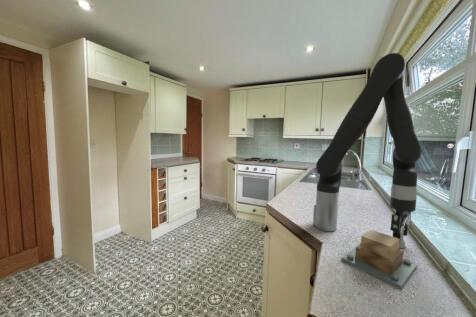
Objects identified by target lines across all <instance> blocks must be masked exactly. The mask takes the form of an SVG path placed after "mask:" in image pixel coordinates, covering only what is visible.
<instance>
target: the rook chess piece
mask: <svg viewBox="0 0 476 317" xmlns="http://www.w3.org/2000/svg"><path fill="white" fill-rule="evenodd" d="M397 227H398V226H396V227H395V228H397ZM403 230H405V228H402V231H401V239H400V242H399V249H404V248H405V247H406V241H405V239H404V235H403V233H404V232H403Z"/></svg>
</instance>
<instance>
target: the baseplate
mask: <svg viewBox="0 0 476 317" xmlns="http://www.w3.org/2000/svg"><path fill="white" fill-rule="evenodd" d="M355 253H356V247H355V248H353V249H352V250H350V251H348V252H347V253H346V254H344V255H343V256H341V258H340V259H341V261H342V262H344V263H346V264H348V265H350V266H352V267H354V268H356V269H359V270H360V271H363V272H365V273H366V274H368V275H370V276H373V277H375V278H377V279H378V280H381V281H382V282H385V283H387V284H389V285H391V286H393V287H395V288H397V289H399V290H402V289H403V287H404V285H405V284H406V283H407V282H408V281H409V279H410V278H411V277H412V275H413V273H414V272H415V271H416V269H417V268H418V264H417V263H414V262H412V261H410V260H408V259H403V261H402V264H401V265H400V266H399V268H398V269H397V270H396V271H395V272H394V273H393V274H391V275H390V274H387V273H385V272H383V271H381V270H379V269H376V268H374V267H372V266H370V265H368V264H365V263H363V262H361V261H359V260H357V259H355Z"/></svg>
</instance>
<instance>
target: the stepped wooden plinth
mask: <svg viewBox="0 0 476 317" xmlns="http://www.w3.org/2000/svg"><path fill="white" fill-rule="evenodd" d="M360 237H361V239H360V244H358V245H357V246H355V248H356V253H355V259H357V260H359V261H361V262H363V263H365V264H368V265H370V266H372V267H374V268H376V269H379V270H381V271H383V272H385V273H387V274H390V275H391V274H393V273H394V272H395V271H396V270H397V269H398V268H399V266H400V265H401V264H402V261H403V258H404V251H403V250H401V249H400V248H399V241H400V239H398V238H395V237H393V235H388V234H386V233H384V232H383V233H382V232H380V231H377V230H374V229H370V230H368V231H367V232H366V233H363V234H362V235H361V236H360Z"/></svg>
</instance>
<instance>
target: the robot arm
mask: <svg viewBox="0 0 476 317" xmlns="http://www.w3.org/2000/svg"><path fill="white" fill-rule="evenodd" d="M406 65H407V64H406V60H405V57H404V56H403V55H402V54H400V53H397V52H391V53H388V54H385V55H384V56H382V57H381V58H380V59H378V60H377V61H376V64H375V65H374V67H373V69H372V71H371V73H370V75H369V77H368V79H367V82H366V83H365V86H364V88H363V89H362V91H361V92H360V94H359V95H358V96H357V98H356V99H355V101H354V102H353V104H352V105H351V107H350V109H349V110H348V111H347V113H346V114H345V116H344V118H343V119H342V121H341V123H340V125H339V126H338V128H337V131H336V132H335V134H334V136H333V138H332V140H331V142H330V144H329V145H328V147H326V149H325V151H324V152H323V153H322V154H321V155H320V157H319V158H318V160H317V162H316V163H315V169H316V172H317V173H318V175H319V178H318V181H317V183H316V198H315V204H314V206H313V219H312V225H313V226H314V225H315V226H316V227H315V226H314V227H315V228H316V229H318V228H319V230H320V229H321V231H324V232H335V231H336V230H337V229H338V228H337V227H338V215H339V213H338V212H339V197H340V196H339V193H340V187H341V182H342V180H341V179H342V171H343V170H342V169H343V166H342V165H343V164H342V162H343V159H344V157H345V155H346V154H347V153H348V151H349V150H350V149H351V148H352V147H353V146H354V145H355V144H356V143H357V141H358V140H360V138H361V137H362V135H364V133H365V132H366V130H367V129H368V127H369V125H370V124H371V123H372V121H373V119H374V117H375V115H376V113H377V111H378V109H379V107H380V104H381V103H382V100H384V106H385V113H386V114H385V115H386V119H387V121H386V122H387V127H388V130H389V134H390V136H391V138H392V139H393V144H394V149H393V152H392V167H393V170H392V171H393V172H392V181H391V188H390V197H389V198H390V199H389V207H390V208H392V209H393V210H395V212H394V213H392V214H391V218H390V219H391V220H390V231H391V232H392V237H395V238H398V239H401V231H402V228H405V230H403V232H404V233H403V237H405V236H406V237H407V236H408V233H409V226H410V224H411V223H412V222H411V221H412V220H411V219H412V213H413V212H415V211H416V209H417V199H418V198H417V195H418V188H417V185H418V172H417V171H416V162H417V161H418V160H419V159H420V158H421V155H422V148H421V145H420V142H419V139H418V137H417V134H416V132H415V126H414V122H413V118H412V113H411V110H410V107H409V104H408V101H407V98H406V95H405V91H404V73H405V69H406V67H407V66H406ZM396 226H398V227H397V228H395V227H396ZM399 242H400V241H399Z"/></svg>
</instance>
